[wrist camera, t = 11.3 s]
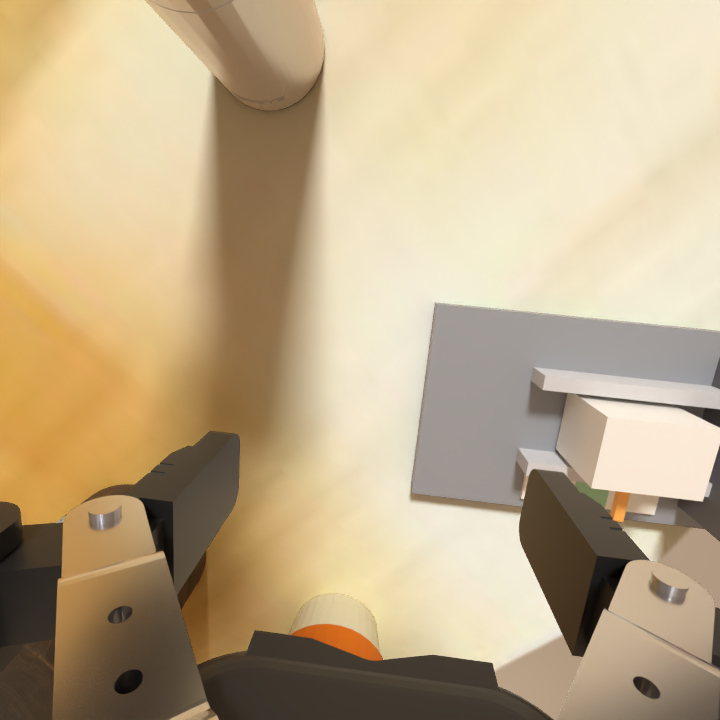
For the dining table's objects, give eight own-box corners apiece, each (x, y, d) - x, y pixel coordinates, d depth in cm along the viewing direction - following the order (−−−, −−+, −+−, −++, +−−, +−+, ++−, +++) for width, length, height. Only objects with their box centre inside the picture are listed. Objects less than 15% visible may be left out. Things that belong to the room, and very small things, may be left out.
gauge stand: (411, 485, 42) (416, 547, 33) (435, 302, 38) (449, 314, 29) (726, 523, 41) (825, 599, 31) (785, 337, 37) (919, 361, 27)
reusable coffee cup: (334, 556, 44) (307, 699, 30) (418, 633, 46) (431, 805, 31) (256, 623, 47) (195, 785, 32) (337, 694, 48) (313, 880, 34)
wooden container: (93, 460, 44) (-189, 644, 23) (225, 517, 44) (70, 752, 23) (58, 572, 47) (-215, 824, 26) (181, 624, 48) (11, 915, 26)
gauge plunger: (547, 486, 39) (580, 533, 32) (568, 389, 37) (607, 417, 30) (636, 497, 39) (688, 546, 32) (662, 399, 37) (724, 430, 30)
